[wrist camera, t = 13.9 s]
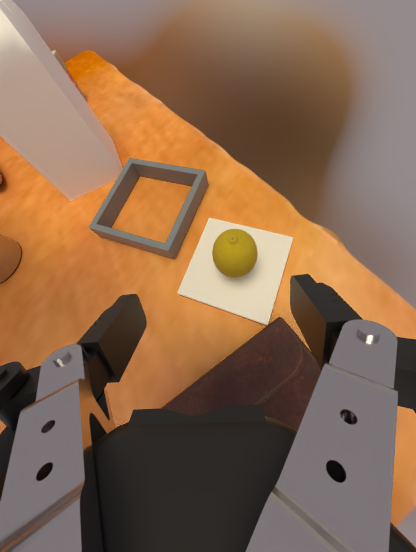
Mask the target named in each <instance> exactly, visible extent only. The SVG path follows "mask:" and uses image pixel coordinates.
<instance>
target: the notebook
mask: <svg viewBox="0 0 416 552" xmlns="http://www.w3.org/2000/svg"><path fill="white" fill-rule="evenodd" d="M320 374H321V369H320V367H319V366H318V364H317V362H316V360H315V358H314V356H313V354H312V352H311V351H310V350H309V349H308V348H307V347H306V346H305V344H304V343H303V342H302V341H301V340H300V339H299V337H298V336H297V334H296V333H295V332H294V331H293V330H292V329H291V327H290V326H289V325H288V324H287V323H286V322H285V321H284V319H283V318H281V317H278V318H277V319H276V320H275V321H273V322H272V323H271V324H269V325H268V326H267V327H266V328H264V329H263V330H262V331H260V332H259V333H258V334H257V335H255V336H254V337H253V338H251V339H250V340H249V341H248V342H246V343H245V344H244V345H242V346H241V347H240V348H239V349H237V350H236V351H235V352H233V353H232V354H231V355H229V356H228V357H227V358H226V359H224V360H223V361H222V362H220V363H219V364H218V365H217V366H215V367H214V368H213V369H211V370H210V371H209V372H208V373H206V374H205V375H204V376H202V377H201V378H200V379H199V380H197V381H196V382H195V383H193V384H192V385H191V386H190V387H188V388H187V389H186V390H184V391H183V392H182V393H181V394H179V395H178V396H177V397H175V398H174V399H173V400H172V401H170V402H169V403H168V404H166V405H165V406H164V407H162V408H161V409H167V410H171V411H175V412H178V413H182V414H186V415H190V416H198V415H202V414H205V413H208V412H211V411H214V410H217V409H220V408H224V407H227V406H237V405H261V404H263V409H264V415H265V416H267V417H270V418H274V419H276V420H279V421H281V422H283V423H285V424H287V425H289V426H291V427H292V428H294V429H295V430H297V431H298V429H299V427H300V424H301V422H302V419H303V417H304V414H305V412H306V409H307V407H308V404H309V402H310V399H311V397H312V394H313V392H314V389H315V387H316V384H317V382H318V379H319V377H320Z"/></svg>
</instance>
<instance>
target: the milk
mask: <svg viewBox="0 0 416 552" xmlns="http://www.w3.org/2000/svg"><path fill="white" fill-rule="evenodd" d="M0 137H2V138H3V139H4V140H5V141H6V142H7V143H8V144H9V145H10V146H11V147H12V148H13V149H15V150H16V151H17V152H18V153H19V154H20V155H21V156H22V157H23V158H24V159H25V160H26V161H27V162H29V163H30V164H31V165H32V166H33V167H34V168H35V169H36V170H37V171H38V172H39V173H40V174H42V175H43V176H44V177H45V178H46V179H47V180H48V181H49V182H50V183H51V184H52V185H53V186H54V187H56V188H57V189H58V190H59V191H60V192H61V193H62V194H63V195H64V196H65V197H66V198H67V199H69V200H70V201H73V200H75V199H77V198H79V197H81V196H83V195H85V194H87V193H90V192H92V191H94V190H96V189H98V188H100V187H102V186H104V185H106V184H109V183H111V182H113V181H115V180H117V179H118V177H119V175H120V174H121V172H122V170H123V167H122V165H121V162H120V159H119V156H118V153H117V151H116V148H115V145H114V142H113V140H112V138H111V137H110V135H109V134H108V132H107V131H106V129H105V128H104V127H103V125H102V124H101V122H100V121H99V119H98V118H97V117H96V115H95V114H94V112H93V111H92V109H91V108H90V106H89V105H88V104H87V102H86V101H85V99H84V98H83V96H82V95H81V94H80V92H79V91H78V89H77V88H76V86H75V85H74V83H73V82H72V81H71V79H70V78H69V76H68V75H67V73H66V72H65V71H64V69H63V68H62V66H61V65H60V63H59V62H58V60H57V59H56V58H55V56H54V55H53V53H52V52H51V51H50V49H49V48H48V46H47V45H46V43H45V42H44V40H43V39H42V38H41V36H40V35H39V33H38V32H37V30H36V29H35V28H34V26H33V25H32V23H31V22H30V20H29V19H28V18H27V16H26V15H25V14H24V13H23V12H22V10H21V9H20V8H19V7H18V6H17V5H16V4H15V3H14V2H13V1H12V0H0Z"/></svg>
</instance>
